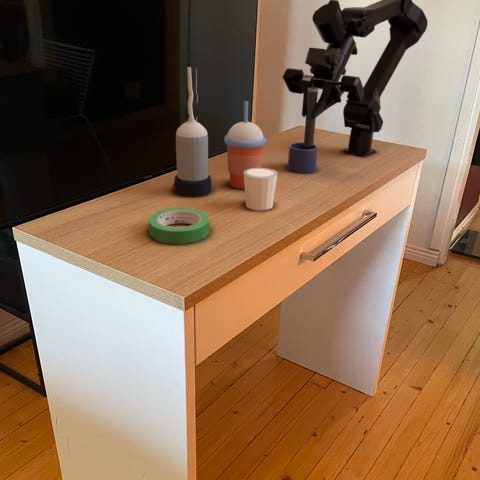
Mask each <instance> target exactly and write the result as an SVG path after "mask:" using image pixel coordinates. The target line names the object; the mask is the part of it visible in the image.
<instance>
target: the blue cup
mask: <svg viewBox="0 0 480 480" xmlns="http://www.w3.org/2000/svg"><path fill="white" fill-rule="evenodd" d="M318 148H319V147H318V145H317V144H315V143H313V146H305V145H304V141H302V142H293V143H290V144H289V146H288V157H287V170H288V171H290V172H292V173H296V174H297V173H298V174H310V173H314V172H316V169H317V159H318Z"/></svg>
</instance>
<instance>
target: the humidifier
mask: <svg viewBox="0 0 480 480" xmlns="http://www.w3.org/2000/svg"><path fill="white" fill-rule="evenodd" d="M186 69H187V91H188V99H187V111H188V119H187V121H185V122H184V123H182V124H181V125H180V126H178V128H177V130H176V132H175V154H176V155H175V156H176V175H175V176H174V181H173V182H174V183H173V184H172V190H173V192H174V193H175V194H176V195H178V196H182V197H187V198H198V197H199V198H200V197H205V196H207V195H210V194H211V193H212V176H210V175H209V135H208V131H207V128H206V127H204V126H203V125H202V124H201V123H199V122H198V121H197V120H198V118H196V119H195V117H194V111H193V101H194V91H193V79H192V67H190V66H188V67H187V68H186ZM197 75H198V74H197V68H195V88H197V87H198V85H197V84H198V81H197V78H198V77H197ZM195 92H196V93H195V94H196V102H198V100H199V96H198V92H197V90H195Z"/></svg>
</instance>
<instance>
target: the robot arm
mask: <svg viewBox="0 0 480 480" xmlns="http://www.w3.org/2000/svg"><path fill="white" fill-rule="evenodd" d="M311 19H312V22H313V25H314V27H315V28H316V30H317V32H318V34H319V37H320V38H321V40H322V42H323V43H326V44H327V46H326V48H319V47H309V48H308V50H307V54H306V59H305V61H304V64H306V65H308V66H309V72H310V74H306V73H305V72H304V71H303V69H300V68H294V67H293V68H291V67H288V68H286V69H285V70H284V72H283V73H282V80H283V81H284V84H285V85H286V87H287V90H288V91H289V92H290V93H292V94H299V95H303V96H302V108H301V116H302V118H306V109H307V96H308V88H309V87H316V88H318V90H321V94H320V96H319V98H318V99H317V104H316V106H315V108H314V110H313V113H312V119H315V118H318V117H319V116H320V115H322V114H323V113H324V112H325V111H327V110H328V109H330V108H332V107H333V106H334V105H336V104H340V103H341V102H342V97H343V95H344V94H345V93H347V95H346V98H347V99H346V101H345V102H346V103H345V105H344V106H343V110H342V113H343V125H344V126H343V127H345V128H348V129H349V128H350V133H349V140H348V147H347V148H344V149H343V152H344V153H348V154H351V155H355V156H360V157H366V156H369V155H371V154H374V153H376V152H377V150H376V149H373V148H372V146H373V140H374V133H380V131H382V128H383V125H384V119H383V117H382V116H381V113H380V111H381V109H382V108H381V96H382V95H383V93H384V91H385V89H386V88H387V85H388V84H389V82H390V80H391V79H392V77H393V75H394V73H395V71H396V69H397V67H398V66H399V65H400V62H401V61H402V59H403V56H404V55H405V53H406V51H407V50H408V49H410V48H411V47H413V46H415V45H416V44H417V43H419V41H420V39H421V38H422V37H423V35H424V34H425V33H426V31H427V29H428V23H429V22H428V19H427V16H426V14H425V11H424V10H423V8H421V7H420V6H418V5H417V4H416V3H415V2H414V1H413V0H379V1H376V2H374V3H372V4H371V3H370V4H369V5H366V6H353V7H352V6H351V7H344V8H343V9H342V8H341V5H340V2H339V0H329V1H328V2H327V3H325V4H323V5H322V6H320V7H319V8H318V9H316V10H315V11H314V12H313V15H312V18H311ZM386 21H387V22H388V24H389V26H390V27H389V41H388V42H387V44H386V46H385V48H384V50H383V52H382V53H381V55H380V57H379V59H378V60H377V62H376V64H375V66H374V67H373V69H372V71H371V72H370V75H369V77H368V79H367V80H366V82H365V83H364V86H363V83H362V80H361V78H360V76H355V75H347V74H346V73H347V69H346V66H347V65H348V62H349V60H350V58H351V56H357V55H358V48H357V42H356V41H355V39H354V38H363V39H364V38H367V37H368V36H369V35H370V34H372V33H373V32H374V31H375V27H376V26H377V25H379V24H381V23H383V22H386ZM315 120H316V119H315Z"/></svg>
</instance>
